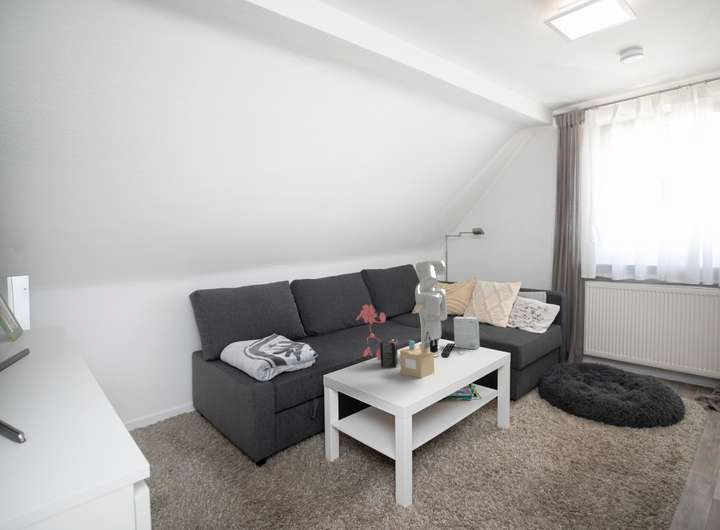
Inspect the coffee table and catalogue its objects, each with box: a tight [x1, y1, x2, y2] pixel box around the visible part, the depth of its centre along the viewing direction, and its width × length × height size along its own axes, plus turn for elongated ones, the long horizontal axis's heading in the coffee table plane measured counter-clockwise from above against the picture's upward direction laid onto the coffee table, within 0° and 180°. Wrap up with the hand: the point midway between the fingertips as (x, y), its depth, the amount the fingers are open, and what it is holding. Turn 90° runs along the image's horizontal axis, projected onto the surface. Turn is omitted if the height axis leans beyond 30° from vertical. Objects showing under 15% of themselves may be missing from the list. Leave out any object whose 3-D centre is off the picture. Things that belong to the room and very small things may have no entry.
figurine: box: [355, 303, 387, 364], centre depth 256 cm, size 15×26×35 cm, turn 46°
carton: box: [399, 340, 435, 379], centre depth 228 cm, size 12×15×17 cm
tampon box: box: [379, 338, 399, 368], centre depth 245 cm, size 11×9×15 cm
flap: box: [418, 342, 431, 356], centre depth 221 cm, size 11×6×5 cm
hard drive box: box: [453, 316, 481, 350], centre depth 278 cm, size 16×8×20 cm, turn 60°
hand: (433, 351), depth 220 cm, fingers closed
